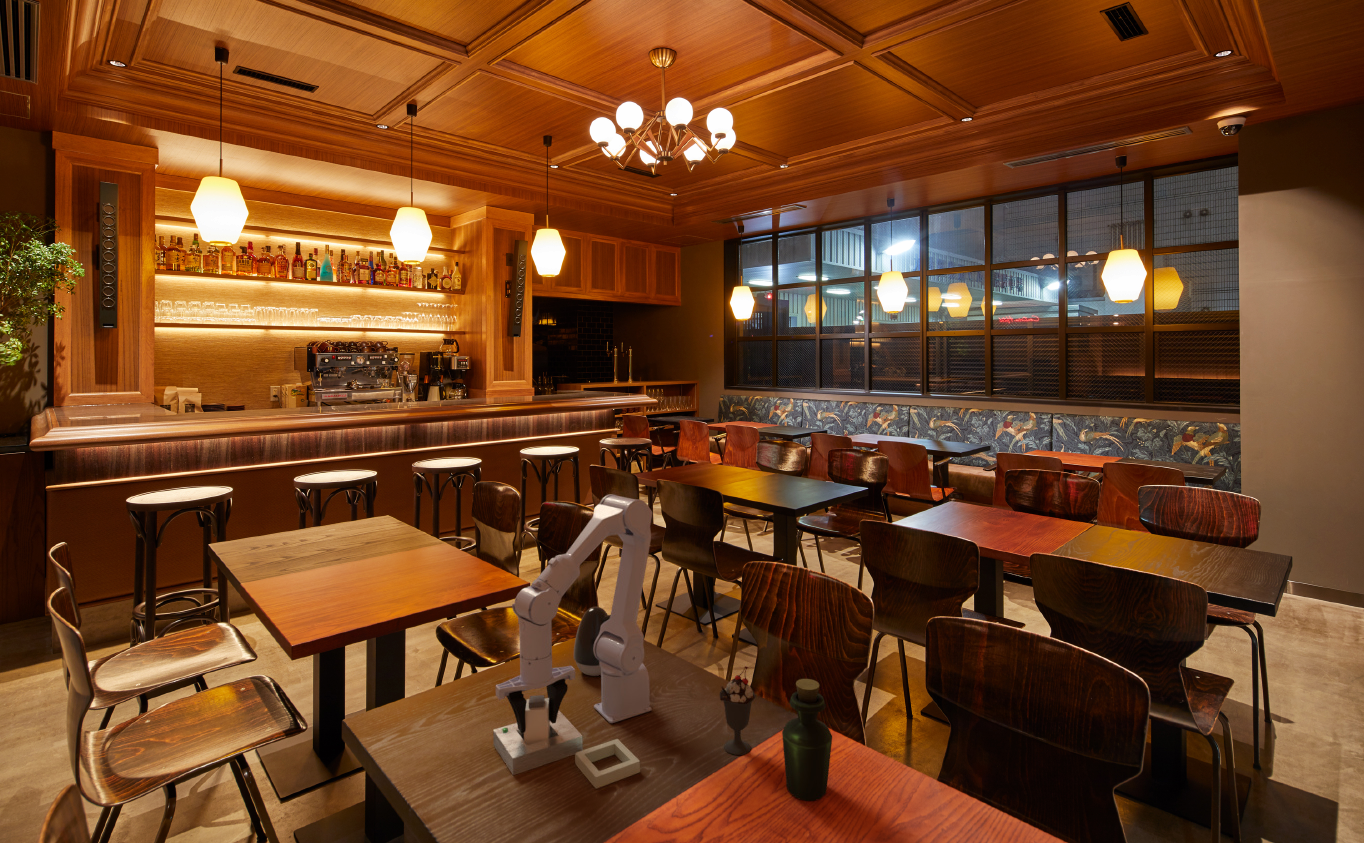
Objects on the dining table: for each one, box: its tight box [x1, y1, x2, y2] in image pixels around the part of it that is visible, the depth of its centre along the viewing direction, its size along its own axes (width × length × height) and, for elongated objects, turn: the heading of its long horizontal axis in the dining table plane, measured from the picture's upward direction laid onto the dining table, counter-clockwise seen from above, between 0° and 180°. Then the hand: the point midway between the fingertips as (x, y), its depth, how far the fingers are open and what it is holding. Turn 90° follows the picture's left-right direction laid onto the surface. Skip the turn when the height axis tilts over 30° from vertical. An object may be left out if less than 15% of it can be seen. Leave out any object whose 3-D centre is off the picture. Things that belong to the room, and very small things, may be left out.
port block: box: [492, 710, 584, 776], centre depth 121 cm, size 13×11×3 cm
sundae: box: [719, 665, 757, 756], centre depth 121 cm, size 7×7×15 cm
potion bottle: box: [781, 678, 833, 802], centre depth 108 cm, size 8×8×18 cm
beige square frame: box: [574, 738, 641, 790], centre depth 115 cm, size 8×8×2 cm
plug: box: [524, 694, 550, 745], centre depth 121 cm, size 4×4×8 cm
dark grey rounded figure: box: [573, 606, 611, 677], centre depth 152 cm, size 10×10×15 cm
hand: (537, 725), depth 121 cm, fingers closed on plug, 5 cm apart
